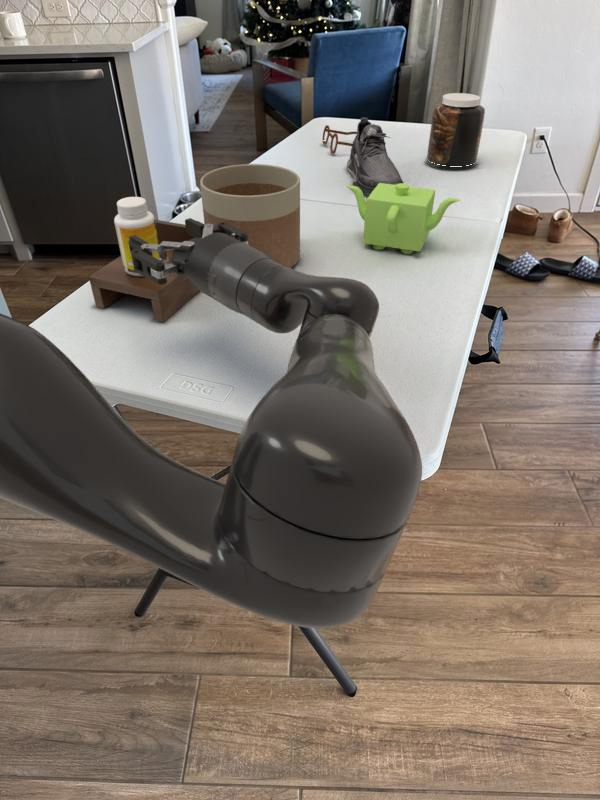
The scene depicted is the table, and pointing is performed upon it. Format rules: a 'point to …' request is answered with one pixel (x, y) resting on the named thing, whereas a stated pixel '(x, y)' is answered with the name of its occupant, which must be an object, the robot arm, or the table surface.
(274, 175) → the planter
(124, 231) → the supplement bottle
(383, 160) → the shoe
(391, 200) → the teapot
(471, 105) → the jar
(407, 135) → the table surface
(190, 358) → the table surface
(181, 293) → the shelf
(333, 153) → the glasses
